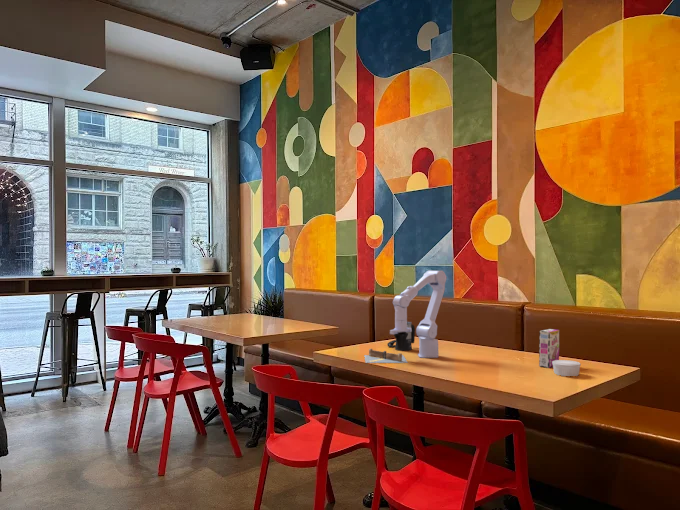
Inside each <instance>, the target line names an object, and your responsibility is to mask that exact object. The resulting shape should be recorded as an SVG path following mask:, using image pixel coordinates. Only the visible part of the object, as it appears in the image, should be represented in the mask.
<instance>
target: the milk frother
mask: <svg viewBox="0 0 680 510" xmlns="http://www.w3.org/2000/svg"><path fill="white" fill-rule="evenodd" d="M407 328H412V332H406V333H408V336H407V338H406V340H405V343H404V347H403V348H399V347H398V343H397V340H396V339H394V340H390V341H389V342H388V343H387V347H389V348H394V349H395V351H400V352H404V351H405V352H406V351H407V352H408V351H412V350H413V347H412V345H413V344H414V343H415V336H416V335H415V334H416V328H415V325H414V324H413V323H412V321H407Z"/></svg>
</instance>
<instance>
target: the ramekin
mask: <svg viewBox="0 0 680 510" xmlns="http://www.w3.org/2000/svg"><path fill="white" fill-rule="evenodd" d="M552 364H553V367H552V368H553V373H554V374H555V375H556V374H557V375H556V376H559V375H561V376H560V377H565V376H576V377H577V376H579V374H580V368H581V363H580V362H579V361H575V360H569V359H568V360H567V359H559V360H555V361H552Z"/></svg>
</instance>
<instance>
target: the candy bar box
mask: <svg viewBox="0 0 680 510" xmlns="http://www.w3.org/2000/svg"><path fill="white" fill-rule="evenodd" d="M538 345H539V346H538V348H539V349H538V350H539V351H538V354H539V357H538V360H539V361H538V364H539V365H538V367H540V368H545V369H550V368H553V364H552V361H555V360H560V329H555V328H548V329H543V330H539V344H538Z"/></svg>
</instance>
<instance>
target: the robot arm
mask: <svg viewBox="0 0 680 510" xmlns="http://www.w3.org/2000/svg"><path fill="white" fill-rule="evenodd" d="M446 282H447V275H446V273H445V271H444V270H431V269H429V270H427V271H425V272H424V273H423V276H422V277H420V278H419V279H418V281H416V282H415V283H414V284H413V285H409V286H407V287H406V289H404V290H403V291H401V293H400V294H399V295H398V294H397V295H395V296H394V298H393V300H392V304H393V307H394V328H393V329H389V335H393V336H394V338H395V340H397V343H398V347H399V348H403V347H404V343H405V340H406V338H407V336H408V333H406V332H412V328H407V322H408V307H409V305H410V302H411V301H412V300H413V299H414V298H415V297H416V296H418V293H419V291H420V290H422V289H423V288H424V287H425V286H427V285H429V286H430V287H431V288H432V293H431V295H430V296H431V297H430V298H429V299H430V300H429V303H428V306H427V309H426V312H425V315H424V318H423V319H422V320H420V322H419V324H418V325H417V326H416V328H415V334H416V336H417V337H418V340H419V341H418V342H419V345H418V346H419V348H418V350H419V352H418V353H417V356H418V357H419V358H421V359H422V358H427V359H428V358H429V359H430V358H432V359H433V358H435V359H436V358H439V340H438V338H436V337H437V335H438V327H439V326H438V324H437V322H436V319H437V317H438V316H437V315H438V313H439V310H440V306H441V303H442V299H443V297H444V293H445V291H446V290H445V289H446Z"/></svg>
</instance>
